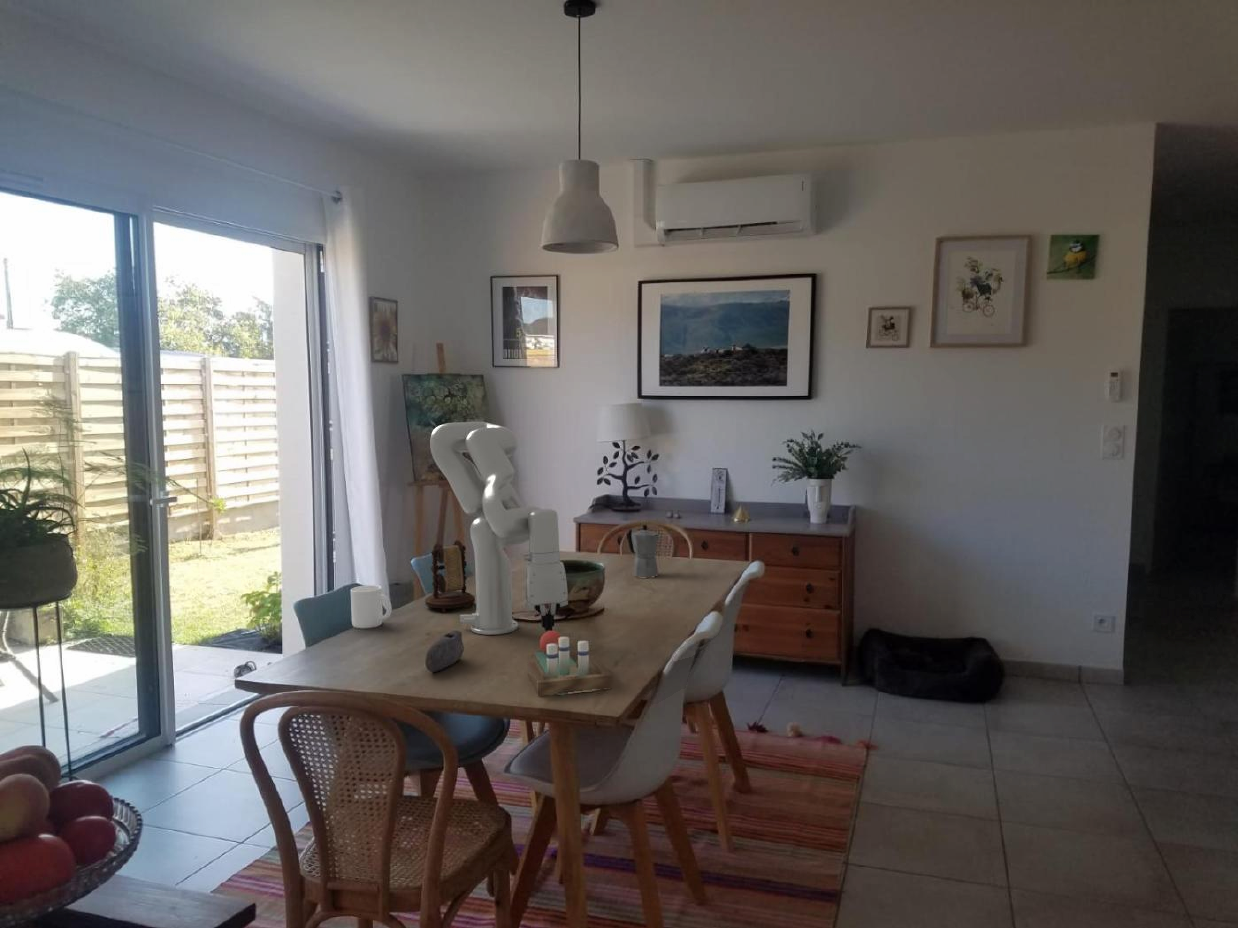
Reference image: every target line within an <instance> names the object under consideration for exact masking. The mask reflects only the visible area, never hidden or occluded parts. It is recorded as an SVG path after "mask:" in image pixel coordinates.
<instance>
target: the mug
mask: <svg viewBox="0 0 1238 928" xmlns="http://www.w3.org/2000/svg"><path fill="white" fill-rule="evenodd" d="M383 603H384V604H385V607H386V612H385V613H383V611H384V610H383ZM350 606H351V610H350V613H351V624H352V626H353V627H354V628H356V629H371V628H377V627H379V626H381V625H382V624H383V621H385V620H387V619H389V617H390V616H391V614H392V603H391V601H390V599H389V597H387V596H386V595H385V594H383V589H382V586H381V585H377V584H375V585H373V584H371V585H370V584H367V585H359V586H354V587H352V588H351V589H350Z"/></svg>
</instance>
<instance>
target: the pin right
mask: <svg viewBox="0 0 1238 928" xmlns="http://www.w3.org/2000/svg"><path fill="white" fill-rule="evenodd" d="M589 646H590V645H589V641H588V640H579V641H578V642H577V666H578V676H585V675H590V656H589V655H590V653H589V652H590V648H589Z"/></svg>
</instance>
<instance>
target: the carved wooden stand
mask: <svg viewBox="0 0 1238 928" xmlns="http://www.w3.org/2000/svg"><path fill="white" fill-rule="evenodd" d="M466 549H467V548H466V545H463V544H462V542H461V541H460V539H456V540H455V541H454V542H453V545H450V546H445V547H443V546H442V544H441V543H440V542H436V543H435V544H434V546H433V549H432V550H431V558H432V562H431V563H432V565H431V566H430V567H431V568H430V570H431V572H432V574H433V575H432V580H433V581H431V582H432V583H431V585H432V589H433V591H432V594H430V595H429V596H428V597H426V598H425V599H424V604H425V606H426V607H429V608H434V609H441V610H442V612H443V613H444V614H445V613H446V611H447V609H453V608H454V609H455V608H462V607H466V606H470V607H471V608H473V607H474V605H475V603H476V595H474V594H472V593H470V592H467V586H466V583H467V582H466V581H467V578H468V577H467V576H466V574H467V573H466V572H467V571H466V570H465V569H466V567H467V564H468V562H467V561H466ZM438 563H439V564H440V565H438ZM443 564H444V565H443ZM442 570H443V571H444V575H443V574H442V573H440V572H439V571H442ZM444 576H445V577H444Z"/></svg>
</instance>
